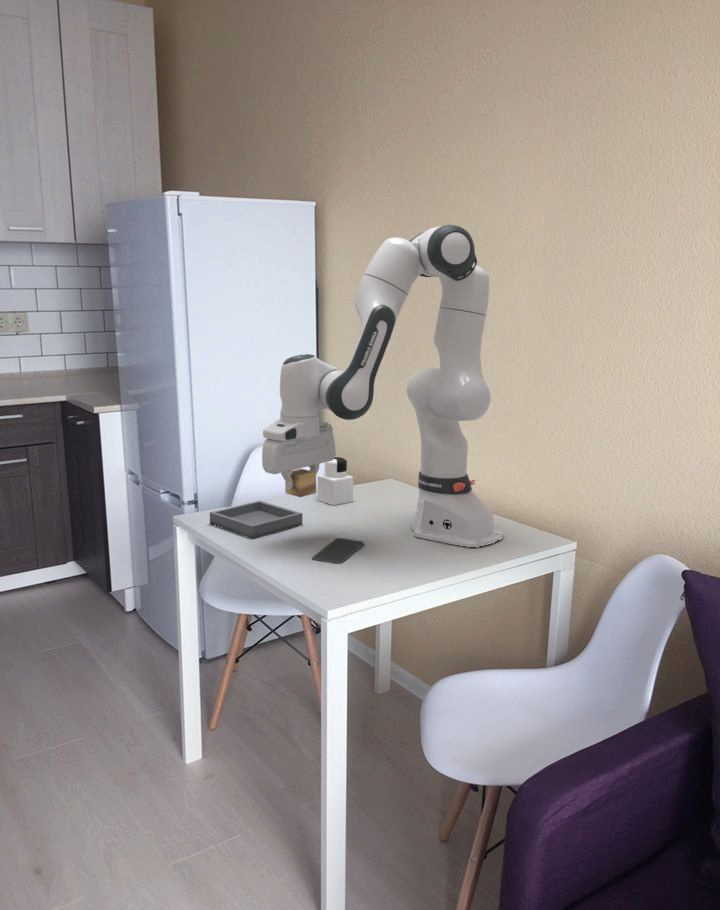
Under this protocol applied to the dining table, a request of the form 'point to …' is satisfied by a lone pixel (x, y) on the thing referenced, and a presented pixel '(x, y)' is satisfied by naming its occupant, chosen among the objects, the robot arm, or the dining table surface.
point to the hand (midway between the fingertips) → (300, 485)
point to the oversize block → (302, 483)
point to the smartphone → (338, 551)
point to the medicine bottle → (335, 483)
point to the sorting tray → (256, 519)
